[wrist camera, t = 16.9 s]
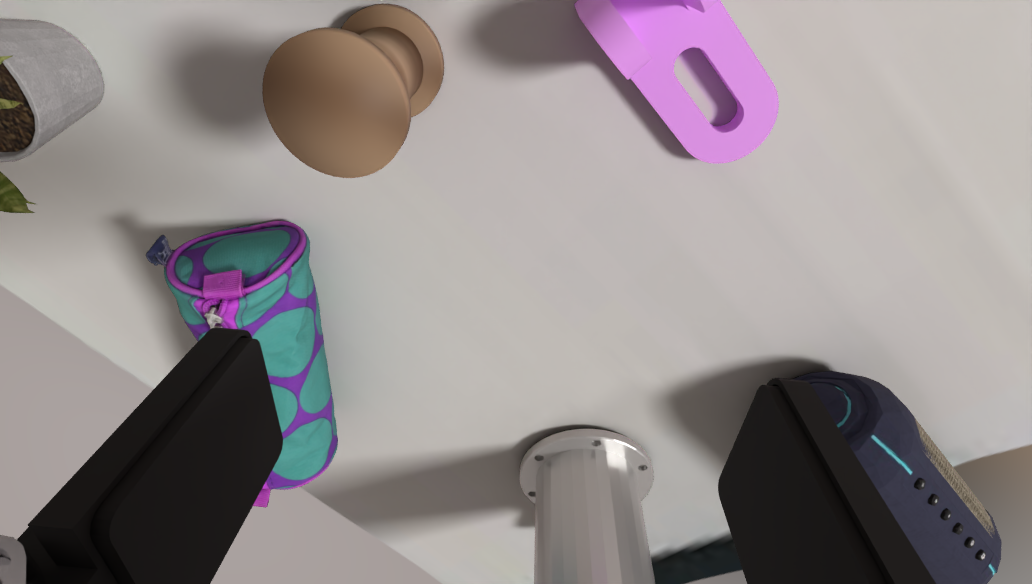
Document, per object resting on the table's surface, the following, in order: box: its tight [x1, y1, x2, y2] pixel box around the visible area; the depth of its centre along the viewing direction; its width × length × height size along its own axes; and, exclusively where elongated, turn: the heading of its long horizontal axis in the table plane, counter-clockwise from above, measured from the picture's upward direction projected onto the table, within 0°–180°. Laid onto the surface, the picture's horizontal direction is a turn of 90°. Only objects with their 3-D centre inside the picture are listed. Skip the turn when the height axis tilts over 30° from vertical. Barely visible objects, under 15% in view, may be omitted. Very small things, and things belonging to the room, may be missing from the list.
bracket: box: [574, 0, 779, 163], centre depth 27 cm, size 13×6×7 cm, turn 44°
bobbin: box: [263, 4, 444, 178], centre depth 26 cm, size 6×6×10 cm
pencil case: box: [146, 221, 338, 507], centre depth 38 cm, size 21×9×10 cm, turn 175°
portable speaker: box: [792, 371, 1001, 584], centre depth 42 cm, size 25×10×10 cm, turn 44°
